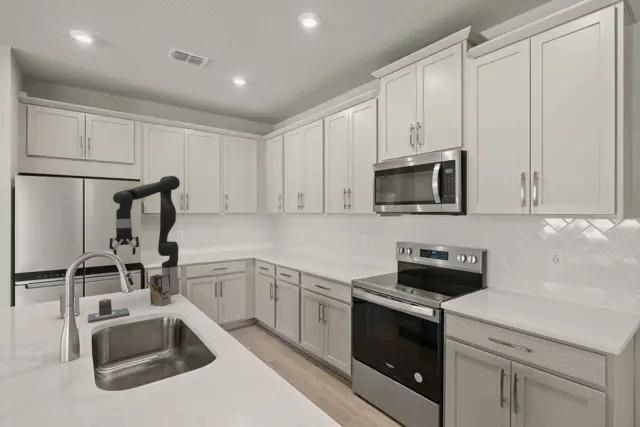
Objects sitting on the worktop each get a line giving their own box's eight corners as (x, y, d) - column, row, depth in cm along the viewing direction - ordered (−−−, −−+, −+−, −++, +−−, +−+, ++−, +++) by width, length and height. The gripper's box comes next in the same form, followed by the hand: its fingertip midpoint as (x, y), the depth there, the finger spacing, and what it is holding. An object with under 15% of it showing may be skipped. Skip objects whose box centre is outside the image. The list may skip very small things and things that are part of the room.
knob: (111, 314, 161) (111, 299, 161) (99, 316, 158) (98, 301, 157) (111, 311, 165) (110, 297, 165) (99, 313, 162) (98, 299, 162)
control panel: (127, 310, 172) (127, 301, 171) (129, 315, 163) (129, 306, 163) (88, 316, 162) (88, 308, 161) (88, 323, 153) (88, 314, 153)
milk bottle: (83, 313, 167) (82, 275, 167) (70, 318, 159) (69, 278, 159) (70, 313, 168) (68, 275, 167) (56, 318, 160) (55, 278, 160)
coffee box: (171, 302, 184) (170, 274, 183) (163, 305, 178) (162, 277, 177) (158, 301, 186) (157, 274, 186) (149, 304, 180) (148, 276, 180)
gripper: (109, 227, 173) (110, 257, 173) (139, 226, 181) (140, 255, 181) (108, 227, 179) (109, 256, 179) (137, 226, 187) (138, 253, 187)
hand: (124, 255), depth 180 cm, fingers open, 8 cm apart
